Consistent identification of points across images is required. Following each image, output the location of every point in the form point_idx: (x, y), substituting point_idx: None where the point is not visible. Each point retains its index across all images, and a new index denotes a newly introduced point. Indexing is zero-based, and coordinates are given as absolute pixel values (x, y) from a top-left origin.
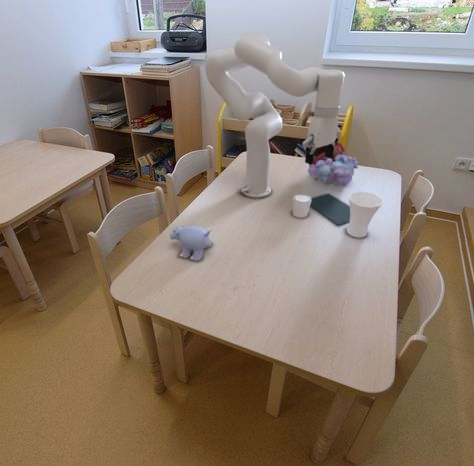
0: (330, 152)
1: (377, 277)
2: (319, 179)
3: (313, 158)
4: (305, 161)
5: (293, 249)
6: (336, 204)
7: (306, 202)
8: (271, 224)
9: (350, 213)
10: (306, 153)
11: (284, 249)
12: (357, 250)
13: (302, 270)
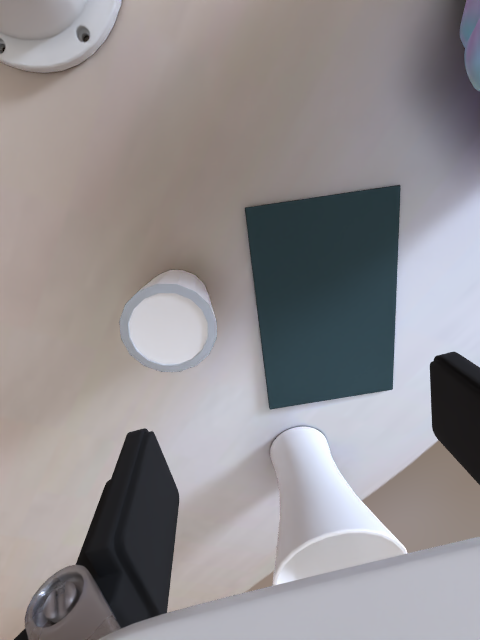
0: (477, 467)
1: (222, 581)
2: (460, 30)
3: (171, 558)
4: (129, 440)
5: (64, 471)
6: (360, 289)
7: (170, 370)
8: (28, 333)
9: (284, 500)
10: (72, 576)
11: (35, 465)
12: (243, 509)
13: (58, 539)
